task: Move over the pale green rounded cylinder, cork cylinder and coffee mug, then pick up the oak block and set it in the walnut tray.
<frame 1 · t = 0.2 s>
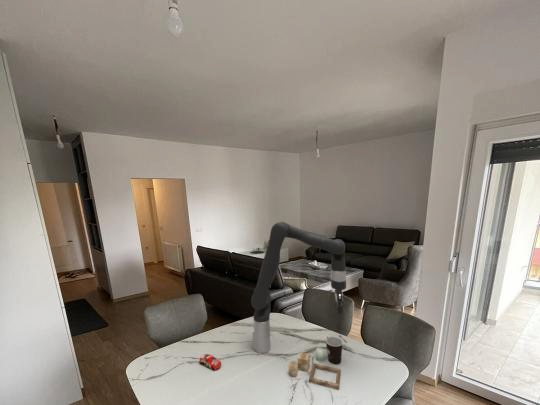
hand: (338, 309, 119), 28 cm above the table, fingers open, 8 cm apart
coffee mug: (334, 358, 124), on the table
cork cylinder: (293, 374, 113), on the table
pale green rounded cylinder: (320, 359, 123), on the table
oak block: (303, 367, 117), on the table
walnut tray: (325, 377, 111), on the table
race car: (210, 365, 122), on the table
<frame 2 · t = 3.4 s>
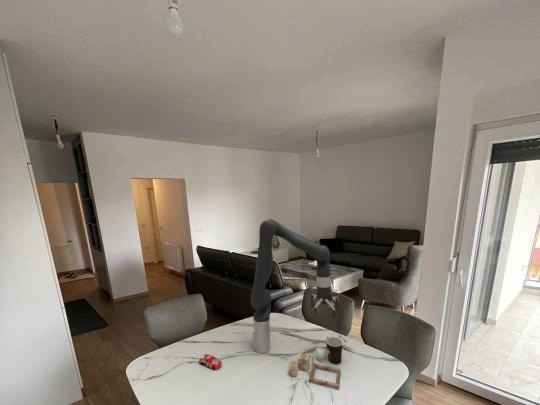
hand: (325, 315, 121), 24 cm above the table, fingers open, 8 cm apart
nothing on the table moved.
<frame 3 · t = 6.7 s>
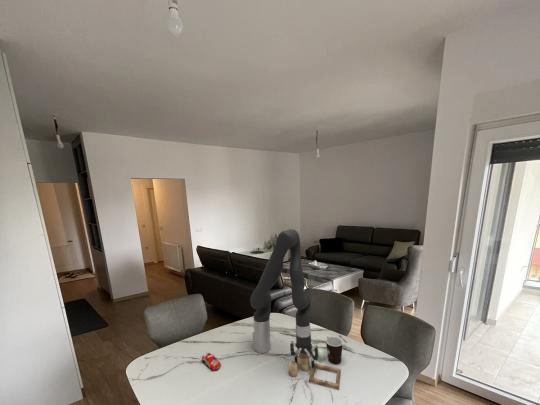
hand: (304, 365, 117), 1 cm above the table, fingers open, 7 cm apart
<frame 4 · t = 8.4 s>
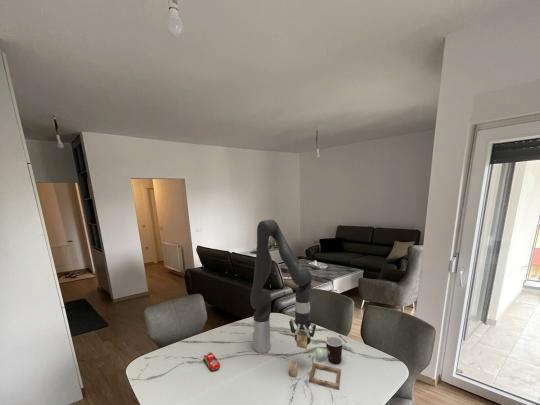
hand: (302, 342, 118), 13 cm above the table, fingers closed on oak block, 5 cm apart
oak block: (302, 344, 118), point 11 cm above the table, touching gripper
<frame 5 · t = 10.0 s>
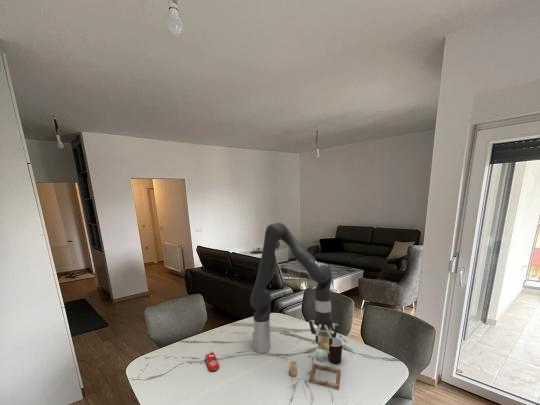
hand: (324, 343, 111), 16 cm above the table, fingers closed on oak block, 5 cm apart
oak block: (323, 346, 111), point 14 cm above the table, touching gripper
when the fingers open (2 cm above the table, at t = 12.8 s): oak block stays where it is, resting in walnut tray.
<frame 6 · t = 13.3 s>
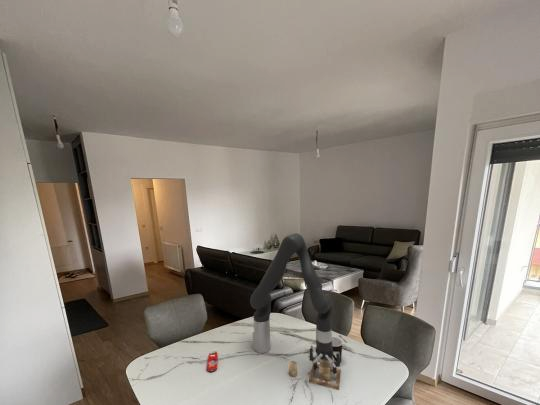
hand: (325, 371, 111), 3 cm above the table, fingers open, 8 cm apart
oak block: (325, 377, 111), resting in walnut tray
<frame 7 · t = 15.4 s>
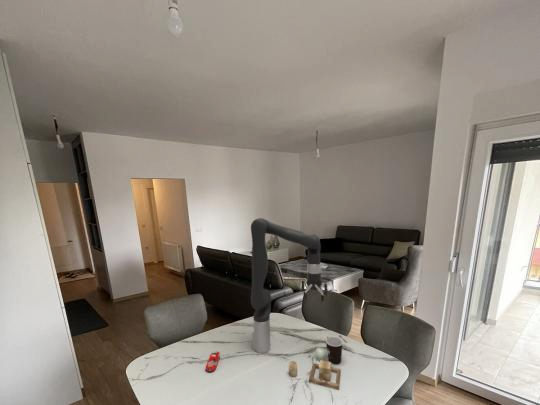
hand: (314, 300, 128), 29 cm above the table, fingers open, 8 cm apart
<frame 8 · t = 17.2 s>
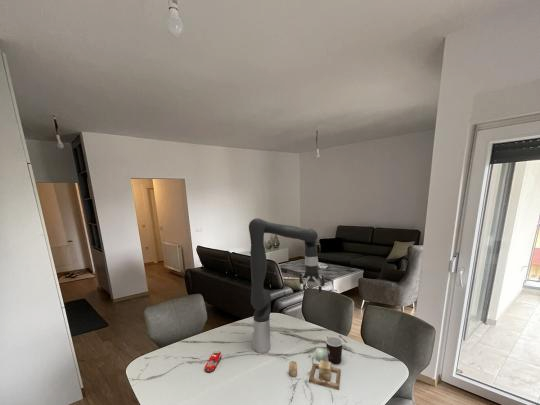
hand: (312, 291, 134), 32 cm above the table, fingers open, 8 cm apart
at the end: oak block inside the target area on the walnut tray (0.1 cm from its centre), point 0.0 cm above the walnut tray's base; oak block tilted 0°; the gripper is holding nothing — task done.
